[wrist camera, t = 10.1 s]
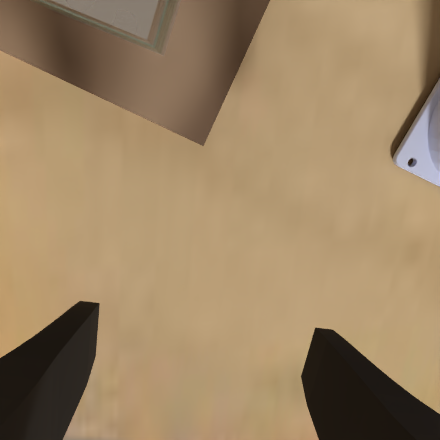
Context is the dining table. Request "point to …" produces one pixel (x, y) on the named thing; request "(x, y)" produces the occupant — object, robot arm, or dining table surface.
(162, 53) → the steel tin
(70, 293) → the dining table surface
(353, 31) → the dining table surface
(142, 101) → the walnut block
